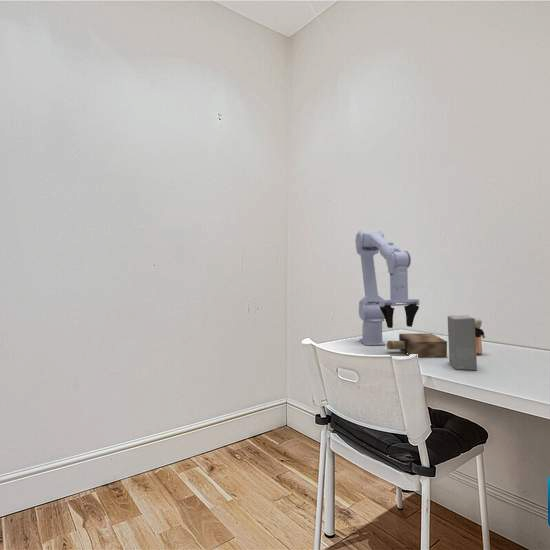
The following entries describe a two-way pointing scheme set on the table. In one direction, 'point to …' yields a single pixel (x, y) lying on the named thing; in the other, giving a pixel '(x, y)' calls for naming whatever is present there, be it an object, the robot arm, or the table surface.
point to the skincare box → (462, 342)
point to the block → (424, 345)
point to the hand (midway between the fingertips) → (399, 327)
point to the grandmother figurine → (478, 336)
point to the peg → (395, 345)
